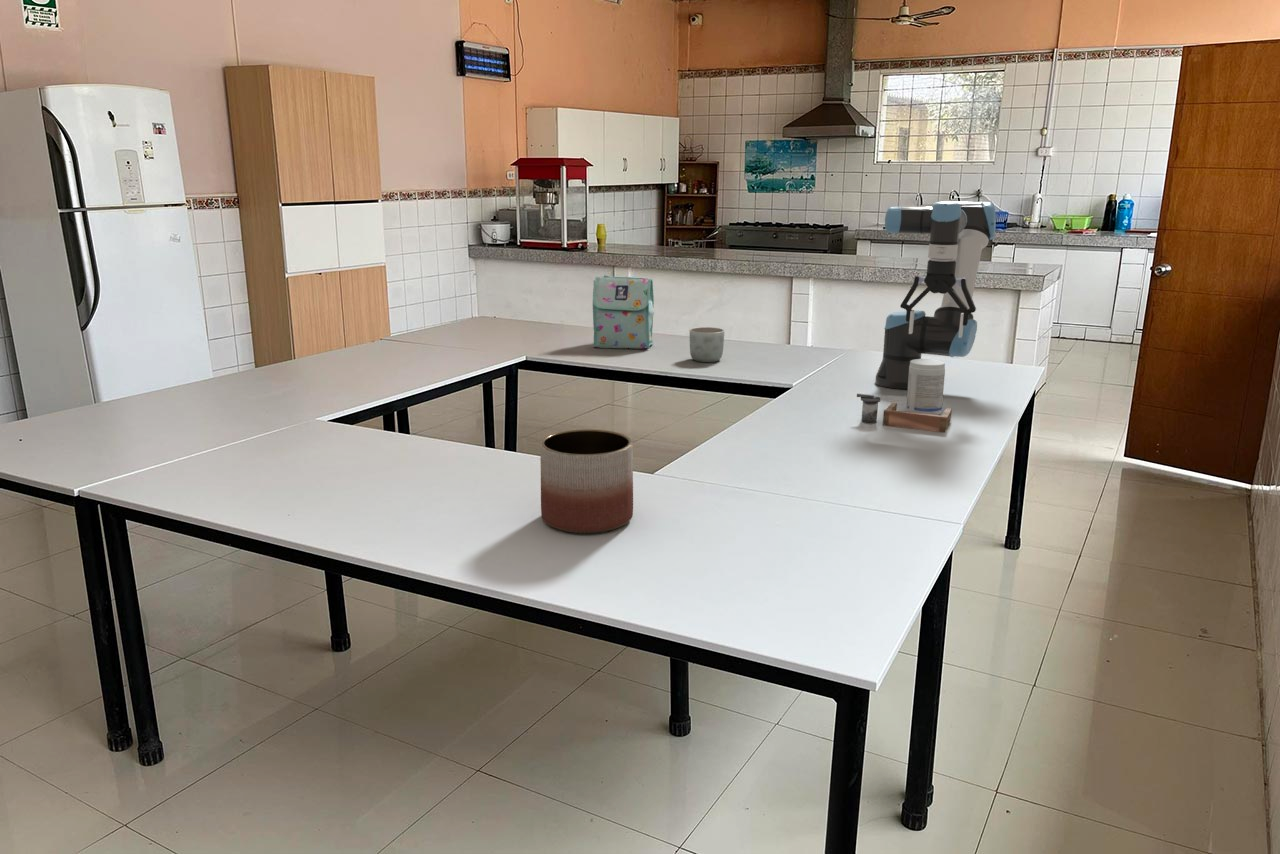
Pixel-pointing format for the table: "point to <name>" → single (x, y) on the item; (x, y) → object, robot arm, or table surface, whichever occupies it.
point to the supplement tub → (925, 386)
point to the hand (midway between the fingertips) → (935, 335)
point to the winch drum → (869, 408)
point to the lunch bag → (623, 312)
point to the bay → (916, 419)
